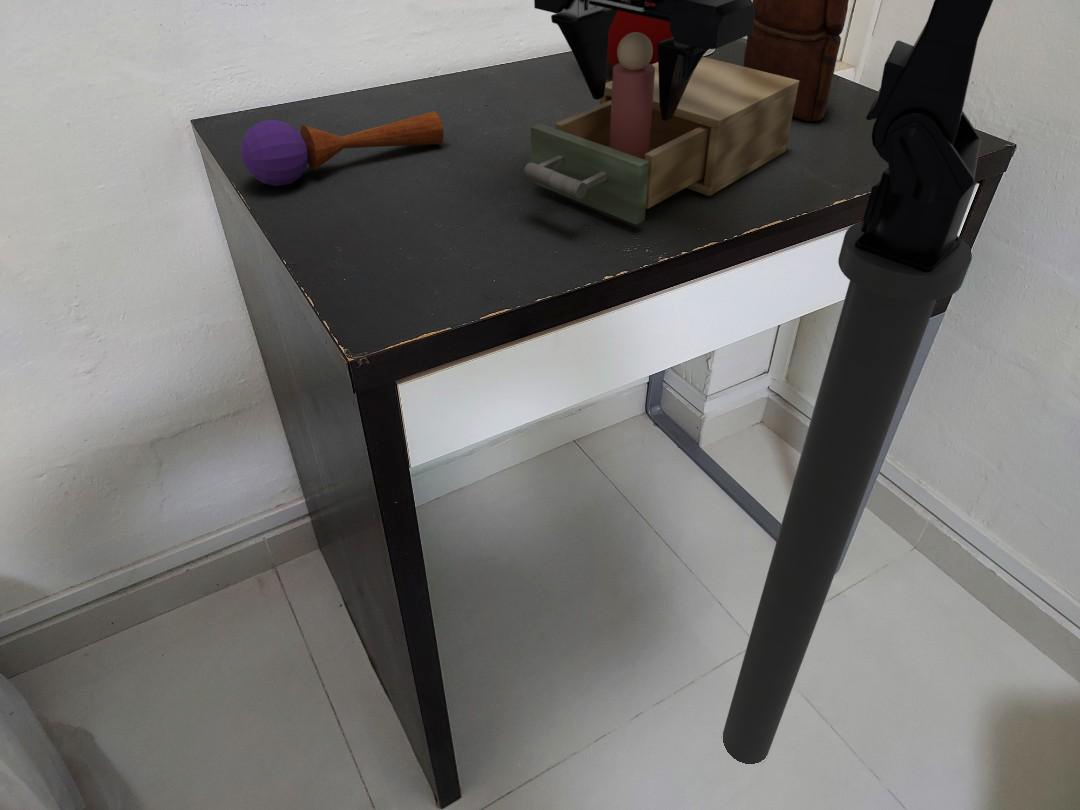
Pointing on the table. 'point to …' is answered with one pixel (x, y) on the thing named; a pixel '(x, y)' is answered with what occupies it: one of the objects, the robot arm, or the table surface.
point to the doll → (632, 96)
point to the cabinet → (733, 117)
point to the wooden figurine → (798, 47)
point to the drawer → (617, 162)
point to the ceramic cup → (636, 23)
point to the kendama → (324, 145)
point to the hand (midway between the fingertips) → (631, 108)
